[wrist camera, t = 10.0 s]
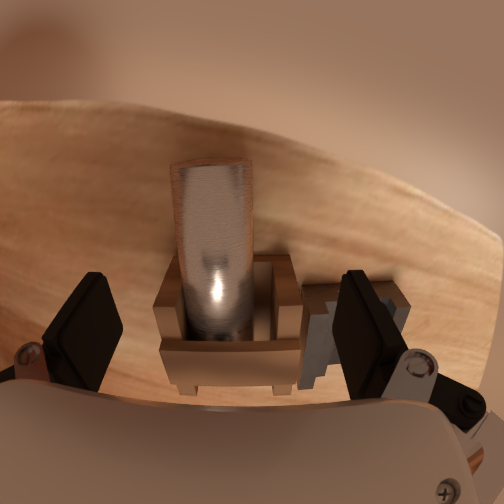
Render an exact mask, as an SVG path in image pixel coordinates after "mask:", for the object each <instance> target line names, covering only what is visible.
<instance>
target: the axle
mask: <svg viewBox="0 0 504 504" xmlns="http://www.w3.org/2000/svg"><path fill="white" fill-rule="evenodd" d="M170 177H171V190H172V202H173V212H174V222H175V231H176V240H177V248H178V256H179V264H180V272H181V279H182V286H183V292H184V299H185V305H186V311H187V317H188V323H189V329H190V335H191V340H192V341H254V274H253V196H252V160H249V159H243V158H209V159H197V160H189V161H183V162H178V163H174V164H171V165H170Z"/></svg>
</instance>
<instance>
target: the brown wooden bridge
mask: <svg viewBox="0 0 504 504" xmlns="http://www.w3.org/2000/svg"><path fill="white" fill-rule="evenodd" d="M253 274H254V341H192V340H191V335H190V329H189V323H188V317H187V311H186V305H185V299H184V292H183V286H182V279H181V272H180V264H179V257H173V259H172V261H171V263H170V266H169V268H168V270H167V273H166V275H165V278H164V280H163V282H162V285H161V287H160V290H159V292H158V295H157V297H156V300H155V302H154V305H153V310H154V314H155V318H156V321H157V325H158V328H159V332H160V335H161V339H162V341H161V344H160V348H159V352H160V355H161V358H162V361H163V364H164V367H165V370H166V373H167V375H168V378H169V381H170V384H174V385H177V388H178V391H179V394H180V395H189V396H197V390H198V386H272V389H273V396H279V395H291V390H292V384H296V378H297V372H298V366H299V360H300V353H301V347H300V342H299V335H300V327H301V319H302V311H303V303H302V299H301V295H300V291H299V288H298V284H297V280H296V276H295V273H294V269H293V265H292V262H291V258H290V255H269V256H253Z"/></svg>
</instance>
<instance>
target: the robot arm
mask: <svg viewBox="0 0 504 504" xmlns="http://www.w3.org/2000/svg"><path fill="white" fill-rule="evenodd" d="M122 332H123V325H122V322H121V319H120V317H119V314H118V311H117V308H116V305H115V302H114V299H113V297H112V294H111V290H110V287H109V284H108V281H107V278H106V277H105V276H103V274H102V273H101V272H88V273H87V274H86V275H85V276H84V278H83V279H82V280H81V282H80V283H79V284H78V286H77V287H76V288H75V290H74V291H73V292H72V294H71V295H70V296H69V298H68V299H67V301H66V302H65V303H64V305H63V306H62V308H61V309H60V311H59V312H58V313H57V315H56V316H55V318H54V319H53V321H52V322H51V324H50V325H49V327H48V328H47V330H46V331H45V333H44V334H43V336H42V340H43V342H44V343H43V344H42V345H41V344H40V343H38V342H29V343H26V344H24V345H23V346H21V347H20V348H19V349H18V351H17V352H16V354H15V356H14V365H13V366H11V367H9V368H7V369H5V370H3V371H1V372H0V504H493V502H494V501H495V499H496V498H497V496H498V494H499V493H500V492H501V490H502V488H503V487H504V421H503V420H501V419H500V418H499V417H498V416H497V415H496V414H495V413H494V412H492V411H490V412H489V413H488V412H487V411H486V403H485V400H484V398H483V397H482V395H480V393H478V392H477V391H475V390H473V389H471V388H469V387H467V386H465V385H463V384H461V383H459V382H456V381H454V380H452V379H450V378H448V377H446V376H444V375H442V374H440V373H438V363H437V361H436V359H435V358H434V356H432V355H431V354H430V353H429V352H427V351H425V350H422V349H408V347H407V345H406V343H405V341H404V339H403V337H402V335H401V333H400V331H399V329H398V328H397V326H396V324H395V322H394V320H393V318H392V316H391V314H390V313H389V311H388V309H387V307H386V305H385V304H384V303H383V302H381V301H380V299H379V298H378V296H377V294H376V292H375V290H374V289H373V287H372V285H371V283H370V281H369V280H368V278H367V276H366V274H365V273H364V271H363V270H348V271H347V274H343V276H342V280H341V285H340V290H339V296H338V301H337V306H336V310H335V315H334V320H333V324H332V335H333V338H334V341H335V345H336V348H337V352H338V355H339V359H340V362H341V366H342V370H343V373H344V377H345V380H346V384H347V388H348V392H349V395H350V399H351V400H349V401H341V402H331V403H319V404H305V405H290V406H262V407H233V406H204V405H188V404H176V403H166V402H157V401H148V400H141V399H134V398H127V397H121V396H115V395H109V394H103V393H98V391H99V388H100V385H101V383H102V380H103V378H104V375H105V373H106V370H107V368H108V365H109V363H110V361H111V358H112V356H113V353H114V351H115V349H116V346H117V344H118V342H119V340H120V337H121V335H122Z"/></svg>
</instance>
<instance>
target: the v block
mask: <svg viewBox="0 0 504 504" xmlns="http://www.w3.org/2000/svg"><path fill="white" fill-rule="evenodd" d="M370 283H371V285H372V287H373V289H374V290H375V292H376V294H377V296H378V298H379V299H380V301H381V302H383V303H384V304H385V305H386V307H387V309H388V311H389V313H390V314H391V316H392V318H393V320H394V322H395V324H396V326H397V328H398V329H399V331H400V333H401V332H402V330H403V327H404V324H405V322H406V319H407V317H408V314H409V311H410V308H411V305H410V304H409V302H408V301H407V299H406V298H405V296H404V295H403V294H402V292H401V291H400V289H399V288H398V286H397V285H396V284H395V282H394V281H378V282H370ZM340 285H341V284H321V285H302V290H301V299H302V303H303V311H302V319H301V327H300V335H299V342H300V347H301V353H300V360H299V366H298V372H297V378H296V381H297V387H298V390H304V389H313V386H314V382H315V378H316V377H320V376H325V372H326V369H327V365H331V364H341V362H340V359H339V355H338V352H337V348H336V345H335V341H334V338H333V335H332V324H333V320H334V315H335V310H336V306H337V301H338V296H339V290H340Z"/></svg>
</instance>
